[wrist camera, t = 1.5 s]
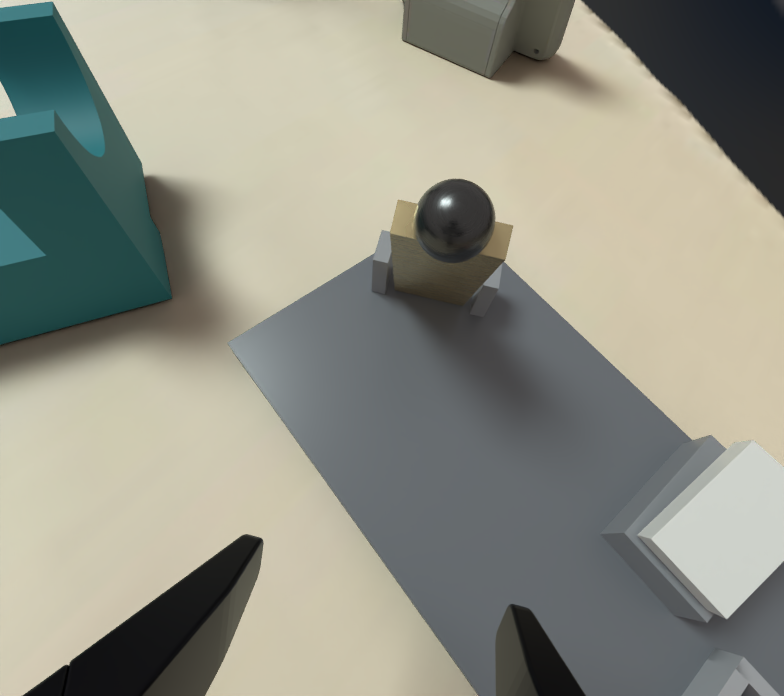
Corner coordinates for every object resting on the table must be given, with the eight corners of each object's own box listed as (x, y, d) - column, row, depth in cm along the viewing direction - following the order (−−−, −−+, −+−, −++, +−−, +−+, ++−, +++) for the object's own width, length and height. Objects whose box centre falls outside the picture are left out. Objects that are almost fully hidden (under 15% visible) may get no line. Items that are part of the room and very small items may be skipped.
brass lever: (459, 318, 24) (517, 264, 12) (391, 302, 24) (382, 233, 12) (470, 274, 24) (536, 178, 12) (402, 258, 24) (403, 149, 12)
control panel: (737, 1058, 14) (886, 1262, 10) (234, 354, 24) (208, 315, 20) (920, 685, 19) (1069, 723, 15) (443, 224, 29) (457, 172, 25)
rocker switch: (707, 610, 17) (726, 619, 16) (637, 535, 18) (651, 538, 17) (806, 509, 18) (832, 511, 16) (734, 442, 19) (753, 439, 17)
